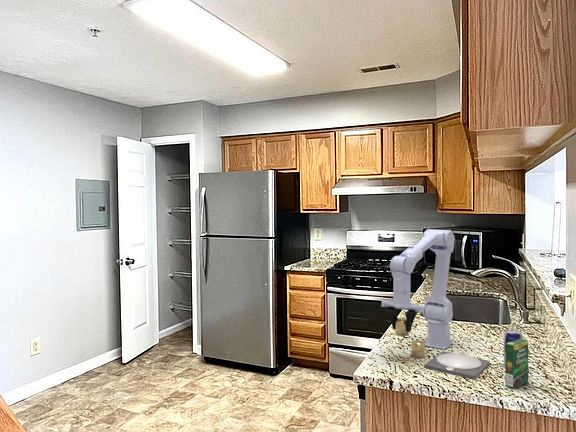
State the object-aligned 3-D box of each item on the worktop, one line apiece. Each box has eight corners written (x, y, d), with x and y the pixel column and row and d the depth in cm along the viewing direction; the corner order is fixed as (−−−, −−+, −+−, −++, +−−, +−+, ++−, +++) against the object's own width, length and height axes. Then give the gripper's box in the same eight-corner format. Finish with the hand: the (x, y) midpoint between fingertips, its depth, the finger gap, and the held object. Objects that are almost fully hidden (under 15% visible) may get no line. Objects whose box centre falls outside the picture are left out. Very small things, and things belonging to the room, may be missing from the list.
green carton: (513, 389, 129) (514, 345, 129) (504, 386, 132) (504, 342, 132) (529, 383, 134) (529, 340, 133) (519, 380, 136) (520, 337, 136)
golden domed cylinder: (398, 331, 158) (398, 317, 157) (410, 333, 155) (410, 319, 155) (392, 334, 154) (392, 320, 154) (405, 336, 151) (405, 322, 151)
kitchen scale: (442, 353, 160) (442, 349, 160) (489, 363, 150) (490, 359, 150) (424, 367, 147) (424, 363, 147) (474, 379, 137) (474, 374, 137)
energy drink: (512, 372, 143) (512, 334, 143) (500, 366, 148) (500, 330, 148) (526, 370, 144) (526, 333, 144) (513, 364, 150) (513, 328, 149)
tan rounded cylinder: (414, 353, 161) (414, 339, 161) (426, 355, 159) (426, 341, 158) (409, 356, 158) (409, 342, 158) (421, 359, 155) (421, 345, 155)
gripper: (377, 290, 155) (377, 328, 156) (417, 295, 146) (417, 336, 147) (386, 287, 161) (386, 324, 161) (425, 292, 152) (425, 331, 152)
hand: (401, 330), depth 154 cm, fingers closed on golden domed cylinder, 4 cm apart
